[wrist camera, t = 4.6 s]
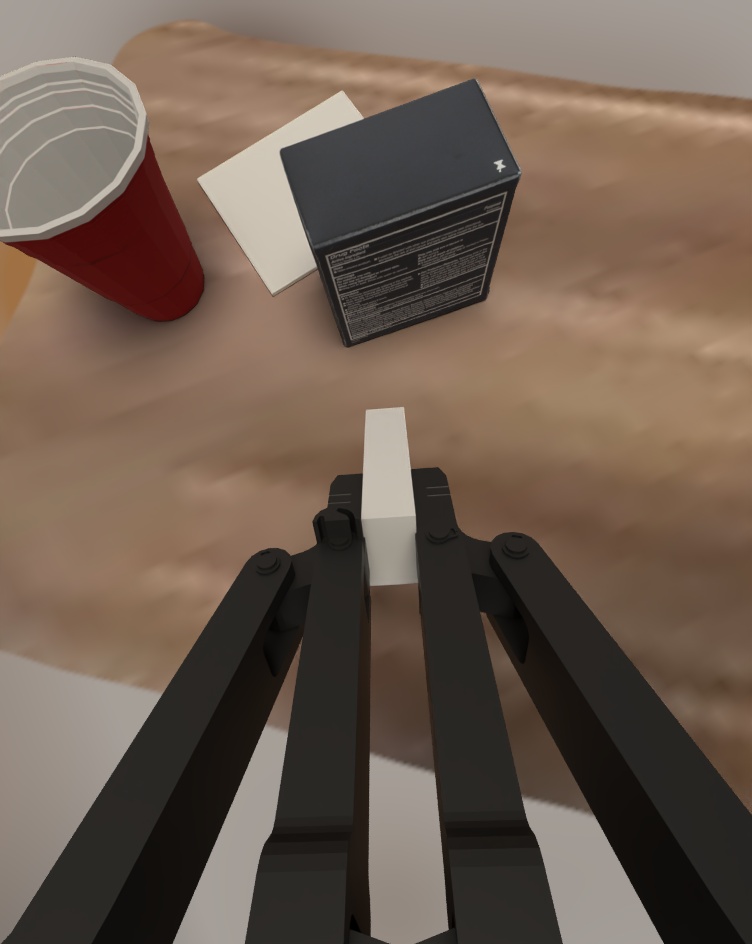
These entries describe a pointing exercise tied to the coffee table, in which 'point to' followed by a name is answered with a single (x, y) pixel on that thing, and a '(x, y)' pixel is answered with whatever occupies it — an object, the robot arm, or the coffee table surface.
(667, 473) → the coffee table surface
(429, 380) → the coffee table surface
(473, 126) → the small box
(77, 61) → the plastic cup
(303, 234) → the mat
